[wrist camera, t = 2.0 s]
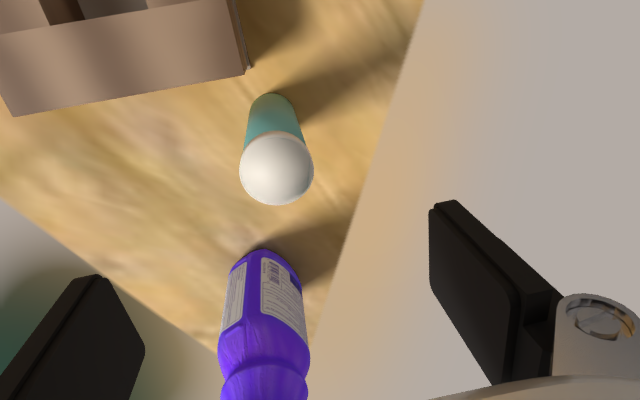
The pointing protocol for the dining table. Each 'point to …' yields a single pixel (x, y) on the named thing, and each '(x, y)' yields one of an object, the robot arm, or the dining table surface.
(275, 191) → the peg
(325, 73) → the dining table surface
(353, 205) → the dining table surface
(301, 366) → the bottle
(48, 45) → the socket block
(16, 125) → the dining table surface
